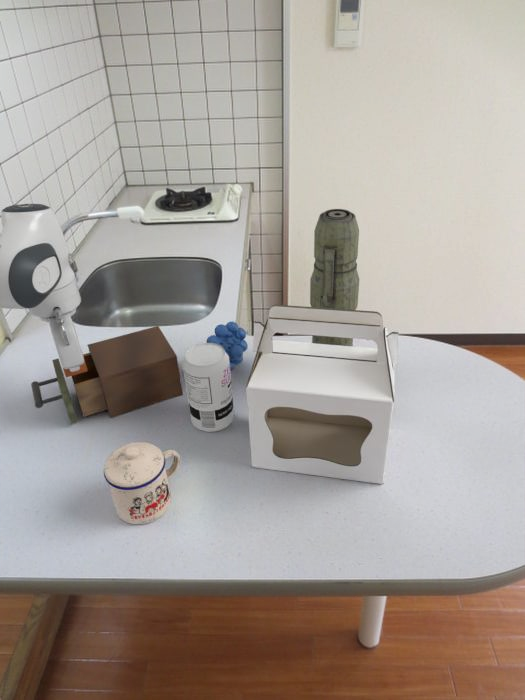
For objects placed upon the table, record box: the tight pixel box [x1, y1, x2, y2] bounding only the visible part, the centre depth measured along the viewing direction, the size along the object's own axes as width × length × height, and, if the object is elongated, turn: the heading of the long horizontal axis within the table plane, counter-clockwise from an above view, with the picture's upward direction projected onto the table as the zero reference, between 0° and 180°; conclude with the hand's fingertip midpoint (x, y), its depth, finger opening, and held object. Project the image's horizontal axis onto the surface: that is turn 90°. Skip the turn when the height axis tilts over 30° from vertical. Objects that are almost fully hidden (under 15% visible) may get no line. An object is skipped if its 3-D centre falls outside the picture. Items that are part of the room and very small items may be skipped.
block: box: [62, 352, 88, 378], centre depth 98 cm, size 4×4×4 cm
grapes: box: [205, 320, 248, 372], centre depth 108 cm, size 12×7×12 cm, turn 140°
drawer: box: [30, 352, 108, 425], centre depth 102 cm, size 18×11×8 cm, turn 116°
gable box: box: [245, 304, 399, 485], centre depth 84 cm, size 22×13×28 cm, turn 78°
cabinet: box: [87, 325, 184, 418], centre depth 105 cm, size 15×13×10 cm
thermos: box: [309, 208, 360, 347], centre depth 98 cm, size 9×12×35 cm
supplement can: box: [182, 342, 236, 433], centre depth 95 cm, size 8×8×15 cm
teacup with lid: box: [103, 441, 181, 525], centre depth 81 cm, size 12×9×12 cm
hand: (72, 361), depth 98 cm, fingers closed on block, 4 cm apart
